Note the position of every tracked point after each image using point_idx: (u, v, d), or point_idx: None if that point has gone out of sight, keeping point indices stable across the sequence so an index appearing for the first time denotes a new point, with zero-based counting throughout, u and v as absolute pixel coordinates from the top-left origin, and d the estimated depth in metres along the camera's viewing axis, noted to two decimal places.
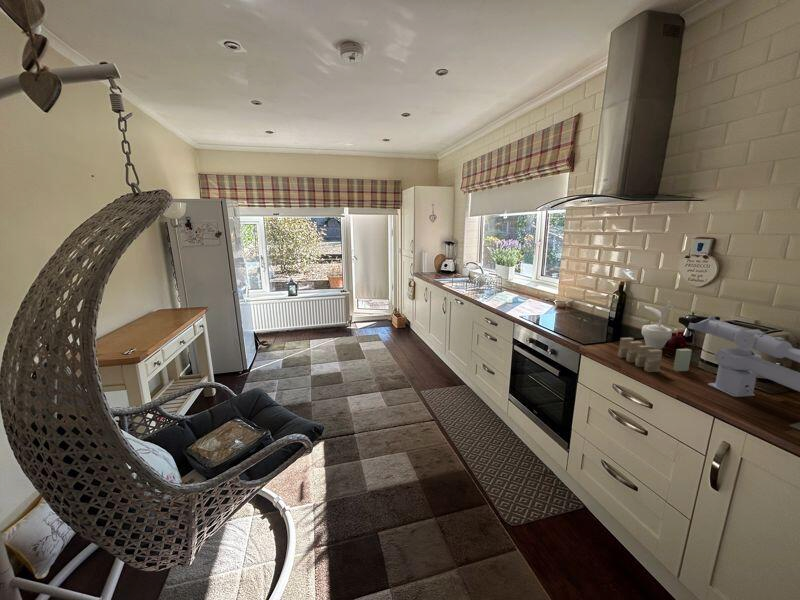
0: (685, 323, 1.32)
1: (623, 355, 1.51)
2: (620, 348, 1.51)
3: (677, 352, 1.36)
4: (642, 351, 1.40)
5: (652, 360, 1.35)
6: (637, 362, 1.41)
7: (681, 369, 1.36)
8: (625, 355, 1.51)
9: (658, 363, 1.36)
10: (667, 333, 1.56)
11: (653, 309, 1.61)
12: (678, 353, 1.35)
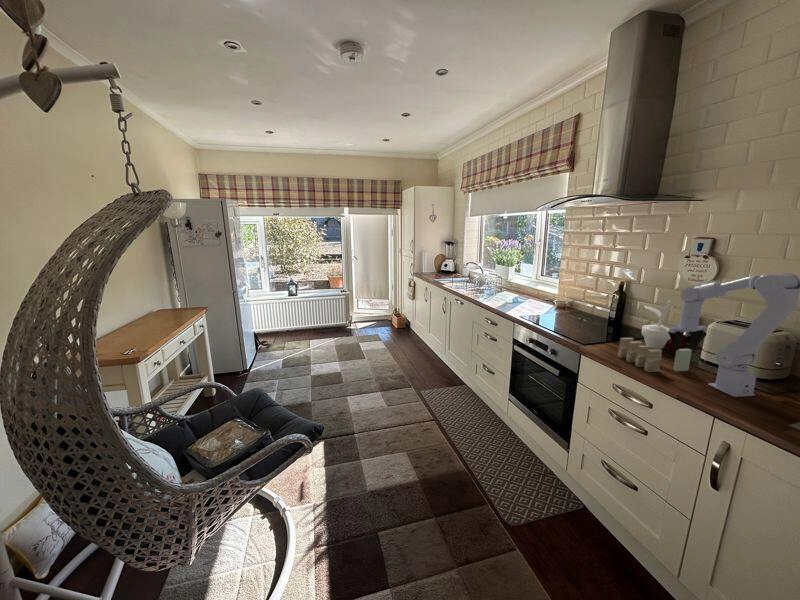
0: (677, 342, 1.34)
1: (623, 355, 1.51)
2: (620, 348, 1.51)
3: (677, 352, 1.36)
4: (642, 351, 1.40)
5: (652, 360, 1.35)
6: (637, 362, 1.41)
7: (681, 369, 1.36)
8: (625, 355, 1.51)
9: (658, 363, 1.36)
10: (667, 333, 1.56)
11: (653, 309, 1.61)
12: (678, 353, 1.35)
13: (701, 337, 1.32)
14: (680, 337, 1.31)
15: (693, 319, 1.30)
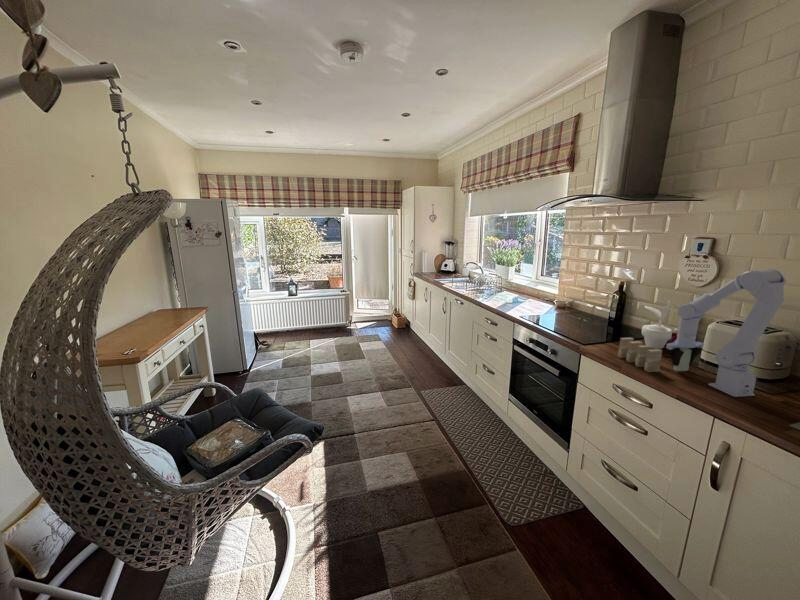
0: (676, 358, 1.35)
1: (623, 355, 1.51)
2: (620, 348, 1.51)
3: None
4: (642, 351, 1.40)
5: (652, 360, 1.35)
6: (637, 362, 1.41)
7: (681, 369, 1.36)
8: (625, 355, 1.51)
9: (658, 363, 1.36)
10: (667, 333, 1.56)
11: (653, 309, 1.61)
12: None
13: (696, 354, 1.34)
14: (679, 354, 1.33)
15: (690, 336, 1.31)
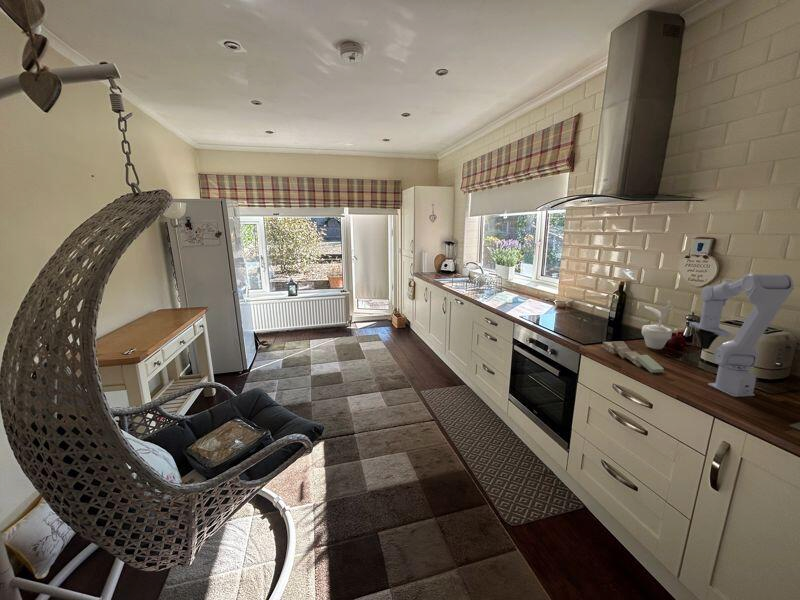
0: None
1: None
2: (607, 350, 1.59)
3: (637, 359, 1.42)
4: (617, 344, 1.54)
5: (633, 356, 1.45)
6: (621, 354, 1.50)
7: (655, 368, 1.35)
8: None
9: None
10: (667, 333, 1.56)
11: (653, 309, 1.61)
12: (638, 358, 1.41)
13: (704, 337, 1.33)
14: (698, 333, 1.35)
15: (702, 317, 1.33)
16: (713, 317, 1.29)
